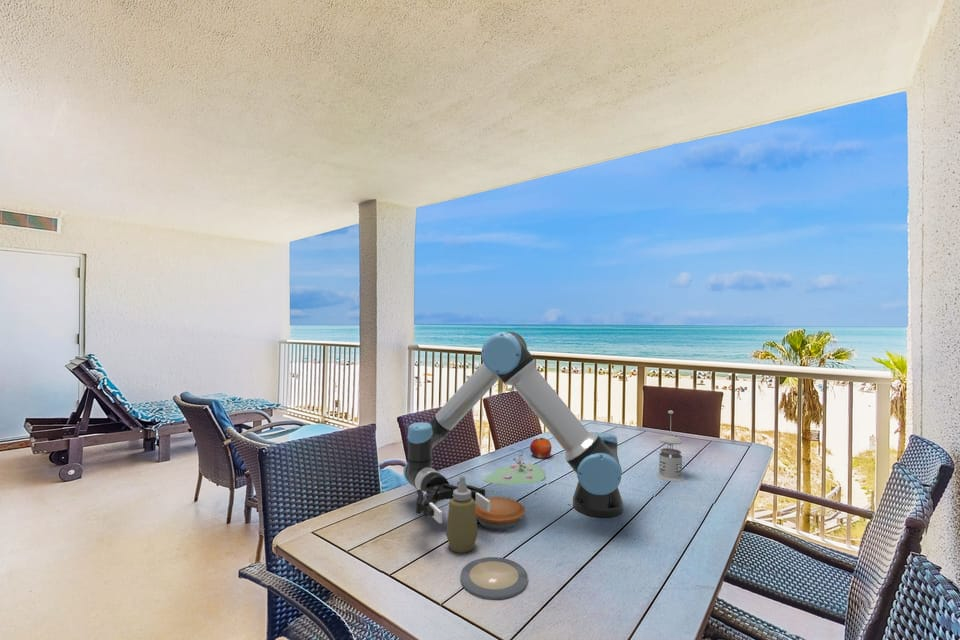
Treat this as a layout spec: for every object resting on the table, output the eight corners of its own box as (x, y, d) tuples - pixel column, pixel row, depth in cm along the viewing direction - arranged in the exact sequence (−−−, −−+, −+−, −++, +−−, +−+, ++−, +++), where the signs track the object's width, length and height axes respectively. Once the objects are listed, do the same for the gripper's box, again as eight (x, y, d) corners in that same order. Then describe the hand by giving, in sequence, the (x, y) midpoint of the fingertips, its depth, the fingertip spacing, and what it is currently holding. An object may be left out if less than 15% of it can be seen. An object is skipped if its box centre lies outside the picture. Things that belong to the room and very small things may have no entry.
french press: (656, 479, 163) (656, 411, 163) (656, 469, 173) (656, 406, 173) (685, 483, 159) (686, 413, 159) (683, 473, 170) (684, 408, 170)
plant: (513, 493, 150) (513, 467, 150) (471, 478, 164) (471, 453, 164) (556, 475, 167) (556, 452, 167) (515, 463, 182) (515, 441, 182)
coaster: (534, 567, 103) (534, 564, 103) (517, 606, 89) (517, 601, 89) (474, 555, 108) (474, 552, 108) (449, 590, 94) (449, 586, 94)
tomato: (553, 460, 185) (553, 441, 185) (531, 459, 185) (531, 440, 185) (549, 453, 194) (550, 435, 194) (529, 453, 194) (529, 435, 194)
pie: (480, 537, 118) (480, 518, 118) (466, 512, 133) (466, 496, 133) (533, 530, 122) (533, 512, 122) (514, 507, 137) (514, 491, 137)
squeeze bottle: (473, 557, 108) (474, 483, 108) (442, 553, 109) (442, 481, 109) (480, 541, 116) (480, 472, 116) (450, 538, 117) (451, 470, 117)
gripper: (469, 489, 135) (507, 516, 117) (390, 506, 123) (418, 538, 104) (469, 465, 135) (507, 488, 117) (390, 479, 123) (419, 506, 104)
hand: (465, 512), depth 110 cm, fingers open, 13 cm apart
